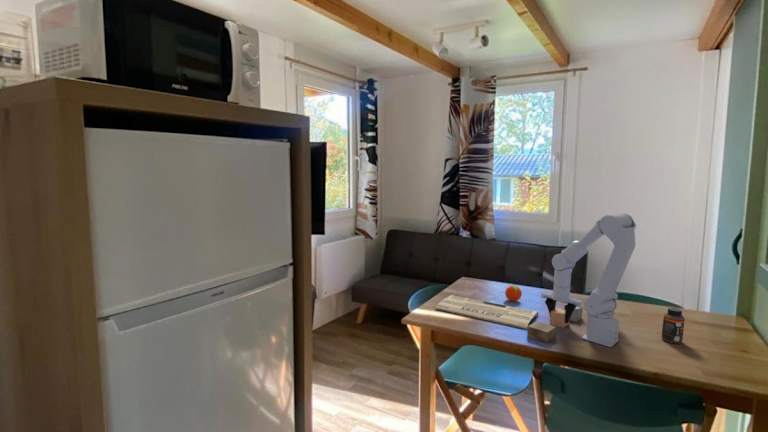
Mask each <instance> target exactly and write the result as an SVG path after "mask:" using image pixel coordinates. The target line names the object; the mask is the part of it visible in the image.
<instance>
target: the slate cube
mask: <svg viewBox="0 0 768 432" xmlns="http://www.w3.org/2000/svg"><path fill="white" fill-rule="evenodd" d="M566 305H568V304H567V303H566ZM563 307H564V309H563V310H565V305H564V306H563ZM583 307H584V305H582V306H581V307H577V306H576V308H575V309H574V311H573V313H572V315H571V317H570V320H569V321H573V322H579V321H580V320H582V318H583Z"/></svg>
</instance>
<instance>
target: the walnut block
mask: <svg viewBox="0 0 768 432" xmlns="http://www.w3.org/2000/svg"><path fill="white" fill-rule="evenodd" d="M526 331H527V332H526V333H527V335H526V338H527V339H531V340H534V341H537V342H541V343H544V344H549V343H550V342H551V341H553V340H555V339H556V338H557V337H556V336H557V326H555V325H552V324H550V323H546V322H545V323H544V322H542V321H538V320H537V321H534V322H533V323H531V324H528V326H527V330H526Z"/></svg>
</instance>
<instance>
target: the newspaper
mask: <svg viewBox="0 0 768 432" xmlns="http://www.w3.org/2000/svg"><path fill="white" fill-rule="evenodd" d="M435 310H439V311H444V312H447V313H452V314H457V315H462V316H466V317H471V318H475V319H480V320H484V321H488V322H494V323H497V324H501V325H508V326H511V327H516V328H520V329H525V330H528V326H529V325H530V322H531V321H532V319H535V318H536V317H537V316H539V312H538V311H534V310H529V309H524V308H520V307H514V306H509V305H504V304H500V303H494V302H490V301H484V300H479V299H475V298H468V297H463V296H458V295H454V294H450V295H449V296H447V297H445V298H444V299H442V300H441V301H439V302H438V303H437V304H436V305H435Z"/></svg>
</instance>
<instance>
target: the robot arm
mask: <svg viewBox="0 0 768 432" xmlns="http://www.w3.org/2000/svg"><path fill="white" fill-rule="evenodd" d="M636 228H637V224H636V222H635V220H634V219H633V217H632V216H631V215H629V214H627V213H620V214H606V215H603V216H602V217H601V218H600V219H598V220H597V221H596V222H595V224H594V226H592V227H591V229H589V230H588V232H587V233H586V234H585V235H584V236H582V238H581V239H580V240H574V241H570V242H569V243H568V246H567V247H566V248H564V249H562V250H561V251H560V252H561V253H557V254H554V256H553V257H552V259H551V264H552V267H553V268H554V275H553V292H551V293H550V292H545V291H543V292H541V293H540V294H541V295H540V298H541V299H545V300H544V303H545V305H546V307H547V310H548V313H549V316H550V315H551V311H552V310H554V309H556V305H557V302H560V303H562V304H563V303H564V304H565V305H564V306H565V323H568V322H569V323H570V321H571V320H570V317H571V315H572V313H573V311H574V309H575V308H576V306H577V307H581V306H583V307H584V310H585V312H586V314H587V320H586V333H585V334H584V335H583V336H581V339H582V340H584V341H585V340H586V341H589V342H592V343H595V344H598V345H602V346H605V347H607V348H608V347H609V348H612V347H613V346H614V345H615V344H617V342H618V341H619V331H620V321H619V319H618V318H617V317H614V316H613V317H612V311H615V310H616V309H617V306H618V302H617V300H618V297H619V295H618V294H617V288H618V287H619V285H620V283H621V280H622V277H623V275H624V273H625V272H626V268H627V266H628V264H629V261H630V259H631V257H632V255H633V253H634V250H635V247H636V232H635V230H636ZM604 235H605V236H606V237H607V239H609V241H610V242H612V244H613V246H614V247H613V249H612V251H611V254H610V257H609V258H608V261H607V263H606V266H605V268H604V270H603V272H604V273H603V272H602V275H601V277H600V280H599V282H598V285H597V287H596V288H595V289H593V290H592V291H591V292H590V295H589V296H588V297H586V298H585V299H584V302H583V300H579V299H577V298H573V297H571V296H570V294H571V284H572V283H571V281H572V280H571V279H572V273H573V269H574V268H575V266H576V262H578V261H579V260H580V259H581V258H582V257H584V256H585V255H586V254H588V248H589V247H590V246H591V245H592V244H594V243H595V242H597V241H598V240H599V239H600V238H602V237H603V236H604ZM615 291H616V292H615ZM567 304H568V305H567Z"/></svg>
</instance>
